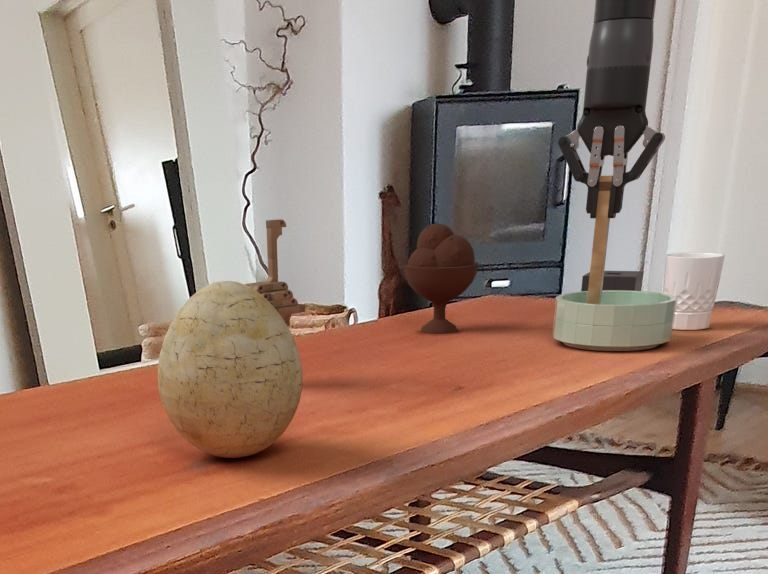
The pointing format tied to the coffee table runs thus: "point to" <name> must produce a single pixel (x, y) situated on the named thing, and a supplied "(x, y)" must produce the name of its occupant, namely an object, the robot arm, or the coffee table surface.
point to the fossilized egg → (229, 371)
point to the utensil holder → (617, 280)
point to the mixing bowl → (614, 320)
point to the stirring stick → (600, 241)
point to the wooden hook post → (276, 277)
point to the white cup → (693, 287)
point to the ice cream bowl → (440, 271)
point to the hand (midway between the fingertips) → (602, 217)
